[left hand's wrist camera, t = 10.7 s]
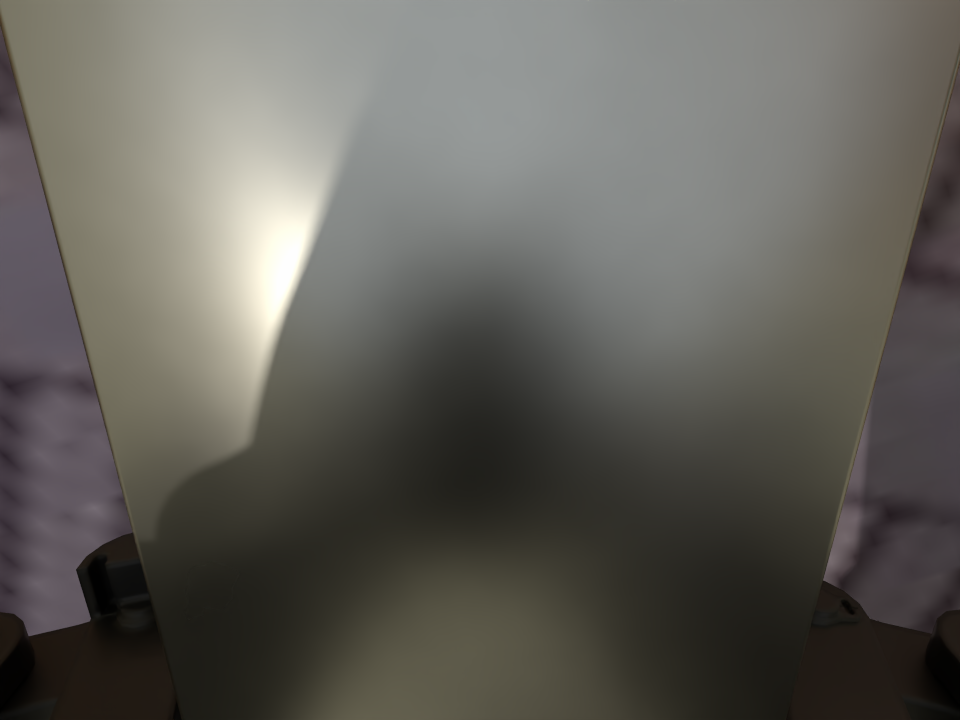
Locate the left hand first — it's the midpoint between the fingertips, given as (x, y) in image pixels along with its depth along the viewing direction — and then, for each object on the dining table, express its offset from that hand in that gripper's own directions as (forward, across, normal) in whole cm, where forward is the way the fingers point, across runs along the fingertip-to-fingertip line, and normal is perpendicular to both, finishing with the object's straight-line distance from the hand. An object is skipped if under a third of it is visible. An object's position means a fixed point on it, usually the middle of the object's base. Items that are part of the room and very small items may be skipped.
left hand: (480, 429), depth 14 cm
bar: (+1, 0, -12) cm, 12 cm away
